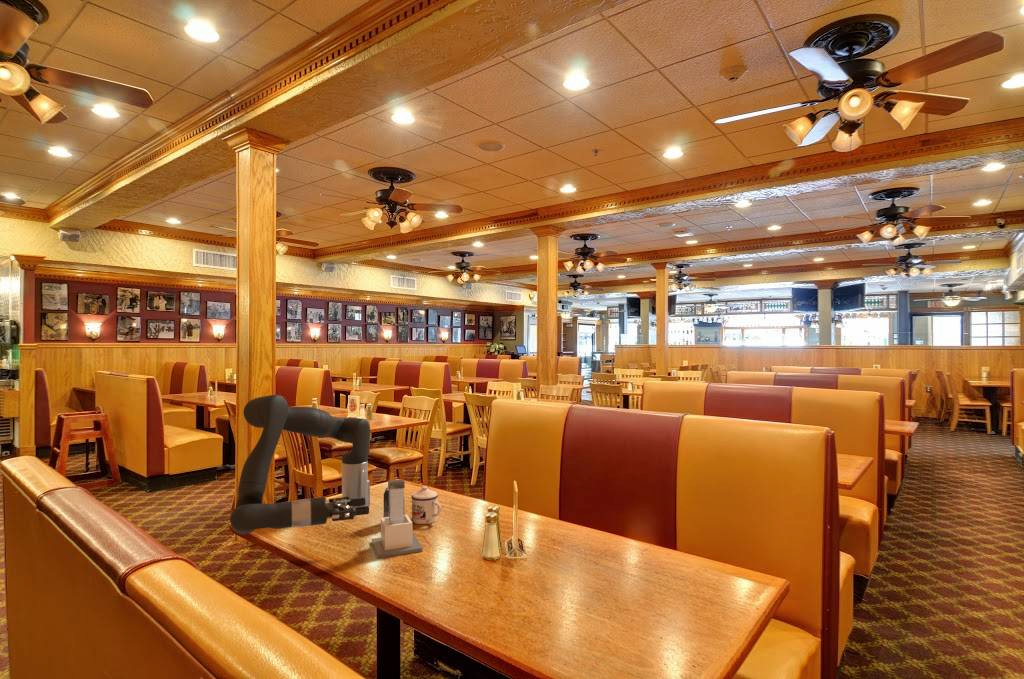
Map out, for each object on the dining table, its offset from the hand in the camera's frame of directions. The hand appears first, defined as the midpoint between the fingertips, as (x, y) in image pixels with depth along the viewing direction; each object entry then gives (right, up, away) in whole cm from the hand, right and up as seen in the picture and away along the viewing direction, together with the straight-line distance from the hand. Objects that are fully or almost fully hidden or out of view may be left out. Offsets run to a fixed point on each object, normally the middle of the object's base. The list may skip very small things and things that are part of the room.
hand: (367, 505), depth 162 cm
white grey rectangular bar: (+8, -12, +3) cm, 14 cm away
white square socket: (+8, -14, +3) cm, 16 cm away
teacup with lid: (+14, -14, +26) cm, 32 cm away
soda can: (+3, -14, +23) cm, 27 cm away
